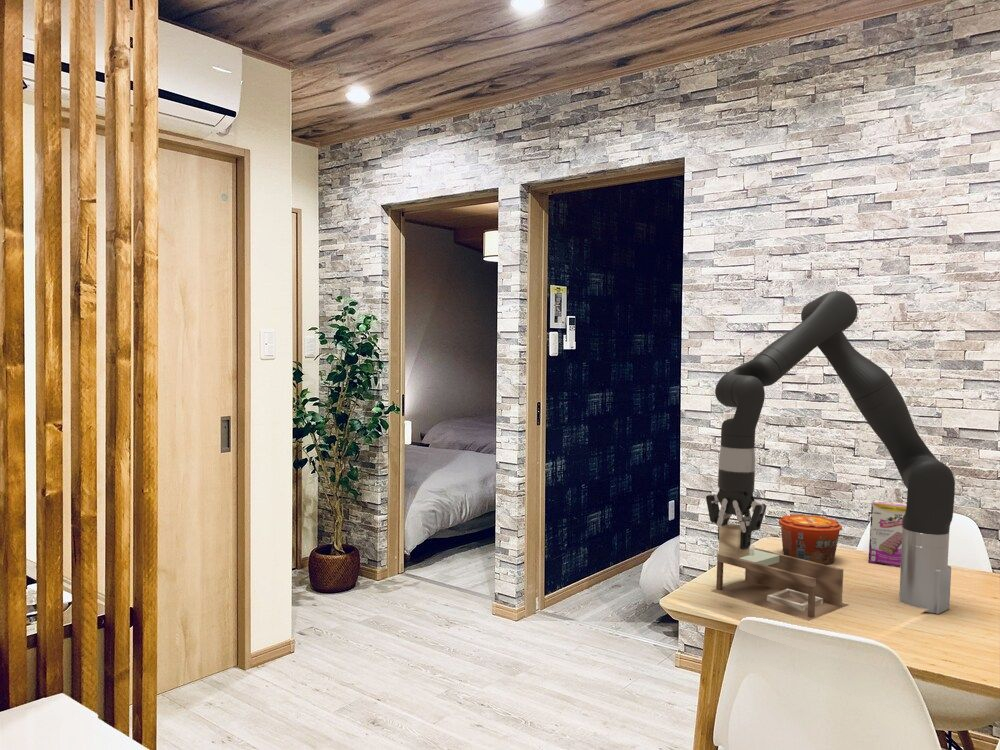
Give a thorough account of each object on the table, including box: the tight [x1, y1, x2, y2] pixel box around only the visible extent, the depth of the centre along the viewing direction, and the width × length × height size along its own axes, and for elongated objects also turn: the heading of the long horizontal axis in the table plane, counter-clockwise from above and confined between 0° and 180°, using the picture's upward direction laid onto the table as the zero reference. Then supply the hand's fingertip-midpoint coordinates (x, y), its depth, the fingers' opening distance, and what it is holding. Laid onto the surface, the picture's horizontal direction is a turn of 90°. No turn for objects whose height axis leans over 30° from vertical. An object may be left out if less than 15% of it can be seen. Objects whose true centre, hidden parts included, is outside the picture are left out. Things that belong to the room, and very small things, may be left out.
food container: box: [778, 513, 843, 566], centre depth 216 cm, size 16×16×11 cm
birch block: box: [717, 523, 750, 559], centre depth 172 cm, size 5×5×6 cm
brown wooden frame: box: [711, 547, 850, 622], centre depth 179 cm, size 24×17×9 cm
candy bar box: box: [868, 499, 907, 567], centre depth 212 cm, size 11×5×16 cm, turn 59°
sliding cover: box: [716, 544, 780, 566], centre depth 185 cm, size 10×10×4 cm
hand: (733, 546), depth 172 cm, fingers closed on birch block, 4 cm apart
